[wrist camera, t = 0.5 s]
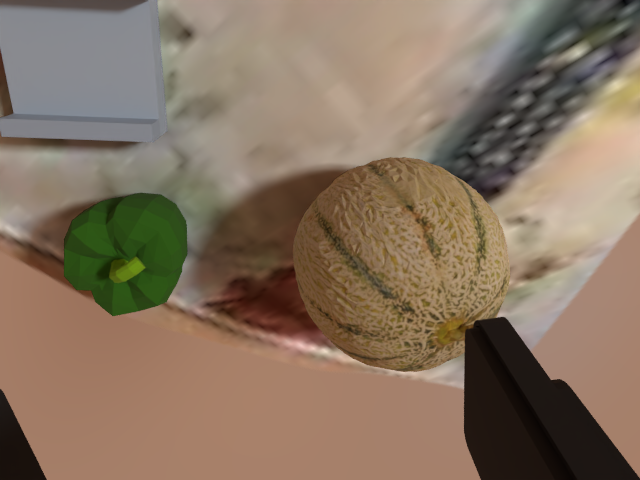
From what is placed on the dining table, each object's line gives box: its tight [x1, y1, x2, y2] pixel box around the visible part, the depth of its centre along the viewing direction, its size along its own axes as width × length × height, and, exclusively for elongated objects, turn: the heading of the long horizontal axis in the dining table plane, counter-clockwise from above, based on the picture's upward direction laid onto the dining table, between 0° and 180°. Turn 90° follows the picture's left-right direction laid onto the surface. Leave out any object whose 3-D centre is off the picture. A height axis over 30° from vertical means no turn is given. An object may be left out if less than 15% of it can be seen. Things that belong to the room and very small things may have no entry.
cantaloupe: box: [293, 157, 510, 372], centre depth 34 cm, size 15×15×15 cm
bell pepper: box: [64, 193, 187, 316], centre depth 35 cm, size 8×8×10 cm
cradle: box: [0, 0, 167, 142], centre depth 33 cm, size 10×10×4 cm
